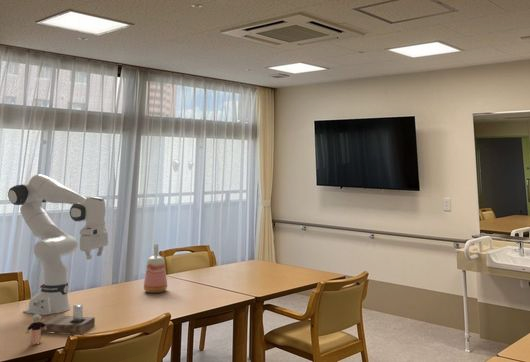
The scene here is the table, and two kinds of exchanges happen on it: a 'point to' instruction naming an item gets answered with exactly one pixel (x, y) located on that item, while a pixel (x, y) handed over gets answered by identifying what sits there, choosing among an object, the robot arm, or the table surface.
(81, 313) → the peg
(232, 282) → the table surface
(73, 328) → the peg board
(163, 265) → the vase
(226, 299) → the table surface
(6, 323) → the table surface
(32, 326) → the grandmother figurine
